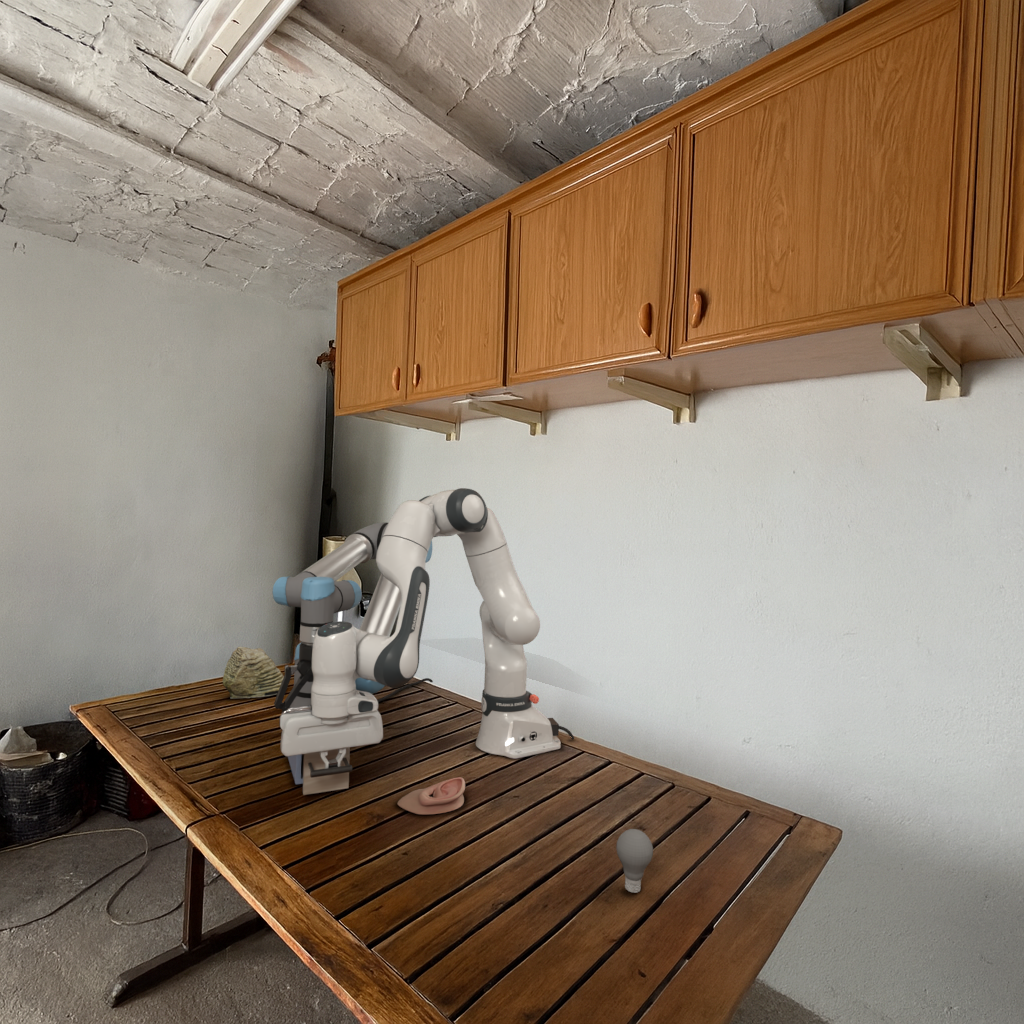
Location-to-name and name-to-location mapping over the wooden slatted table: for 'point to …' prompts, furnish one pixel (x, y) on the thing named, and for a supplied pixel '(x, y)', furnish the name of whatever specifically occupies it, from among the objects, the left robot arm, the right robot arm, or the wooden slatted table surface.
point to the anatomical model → (435, 798)
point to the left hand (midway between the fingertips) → (312, 733)
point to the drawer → (324, 772)
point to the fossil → (251, 674)
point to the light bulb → (634, 857)
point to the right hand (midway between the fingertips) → (332, 769)
